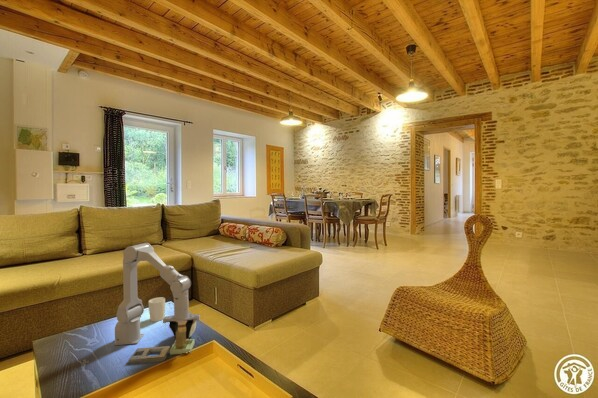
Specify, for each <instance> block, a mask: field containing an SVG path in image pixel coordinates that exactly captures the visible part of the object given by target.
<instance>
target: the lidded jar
mask: <svg viewBox="0 0 598 398" xmlns="http://www.w3.org/2000/svg"><path fill="white" fill-rule="evenodd" d="M186 322H187V321H182V322H178V328H184V327H186ZM196 327H197V320H194V322H193V324H192V327H191V330H190V336H189V338H191V337H192V335H193V334H194V333H195V332H196Z"/></svg>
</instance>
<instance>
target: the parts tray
mask: <svg viewBox="0 0 598 398" xmlns="http://www.w3.org/2000/svg"><path fill="white" fill-rule="evenodd" d="M188 340H189V343H188V345H187V348H183V349H176V340H175V339H174V342H173V343H172V346H170V351H169V355H170V356H172V355H173V356H175V355H183V354H182V353H186V352H189V351H191V352H192V350H193V348H194V346H195V338H190V339H189V338H188ZM186 354H187V353H186Z"/></svg>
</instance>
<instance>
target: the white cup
mask: <svg viewBox="0 0 598 398" xmlns="http://www.w3.org/2000/svg"><path fill="white" fill-rule="evenodd" d="M148 312H149V320H150V321H151V322H152V323H153V322H155V323H156V322H160V321H163V318H164V317H166V316H165V313H166V298H165V297H162V296H161V297H160V296H159V297H154V298H150V299H149V300H148Z"/></svg>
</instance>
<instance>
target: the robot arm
mask: <svg viewBox="0 0 598 398" xmlns="http://www.w3.org/2000/svg"><path fill="white" fill-rule="evenodd" d="M122 254H123V256H122V257H123V258H122V280H123V281H122V282H123V283H122V284H123V285H122V286H123V292H122V293H123V300H122V301H121V302H120V304H119V305H118V306H117V312H116V320H117V321H116V323H115V327H114V344H113V345H114V346H119V345H121V346H123V345H132V344H133V345H134V344H138V343H139V342H140V340H141V339H142V338H143V337H144V335H145V333H141V318H142V315H143V314H144V311H145V309H144V305H143V299H140V298H139V297H138V264H139V263H140V262H147V263H149V264H150V265H151V266H152V267H154V268H155V269H156V270H157V271H159V276H160V278H162V279H163V281H165V282H166V283H167V284H168V285H169V286H170V287H169V288H170V291H171V293H172V297H173V310H174V311H173V313H174V314H173V315H169V316H165V317H164V318H163V320H162V323H163V324H167V323H168V328H169V329H170V330H171V332H172V333H173V337H174V341H175V340H176V331H177V329H178V322H182V321H187V322H186V331H187V333H186V337H187V339H189V338H190V337H189V336H190V330H191V327H192V324H193V322H194V320H196V322H199V321H200V319H201V315H200V314H195V313H194V314H193V313H190V312H189V311H190V307H189V305H190V303H189V301H190V300H189V289H190V288H191V286H192V281H191V279H190V278H189V276H188V275H183V274H181V273H180V272H179V271H177V270H176V269H175V267H174V266H173V265H167V264H166V263H165V262H164V261H163V260H162V258H161V257H160V256H158V254H157V253H156V252H155V249H154V247H153V246H152V245H151V244H150V243H149V242H143V243H139V244H134V245H130V246H129V245H128V246H127V247H126V248H125V249H123V253H122Z"/></svg>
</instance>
